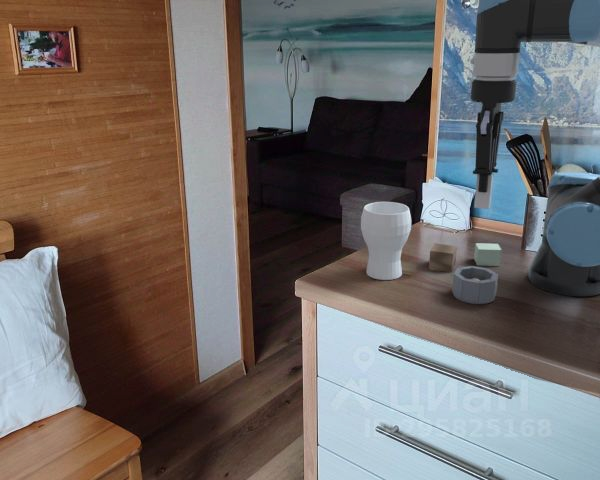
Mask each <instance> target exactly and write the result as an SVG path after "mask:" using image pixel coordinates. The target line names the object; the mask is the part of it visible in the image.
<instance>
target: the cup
mask: <svg viewBox="0 0 600 480" xmlns="http://www.w3.org/2000/svg"><path fill="white" fill-rule="evenodd" d="M360 230H361V233H362V237H363V240H364V242H365V244H366V246H367V249H368V261H367V264H366V265H367V266H366V271H365V272H366V275H367V276H368V277H370V278H372V279H376V280H383V281H390V280H391V281H392V280H396V279H398V278H400V277H402V275H403V271H402V270H403V269H402V262H401V261H402V260H401V256H402V251H403V248H404V246H405V244H406V243H407V241H408V238H409V237H410V233H411V230H412V216H411V211H410V208H409V206H407V205H406V204H404V203H399V202H394V201H375V202H371V203H368V204H366V205H364V207H363V209H362V213H361V216H360Z"/></svg>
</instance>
